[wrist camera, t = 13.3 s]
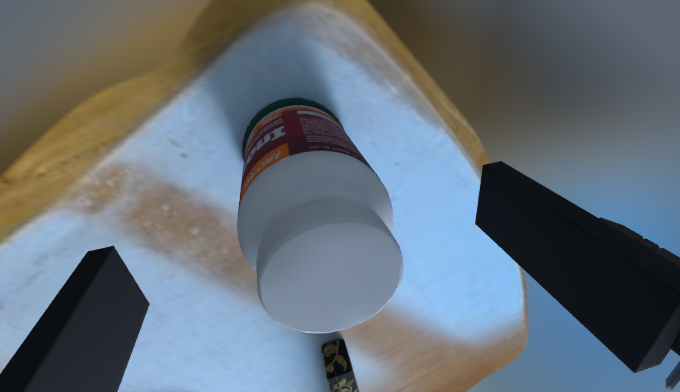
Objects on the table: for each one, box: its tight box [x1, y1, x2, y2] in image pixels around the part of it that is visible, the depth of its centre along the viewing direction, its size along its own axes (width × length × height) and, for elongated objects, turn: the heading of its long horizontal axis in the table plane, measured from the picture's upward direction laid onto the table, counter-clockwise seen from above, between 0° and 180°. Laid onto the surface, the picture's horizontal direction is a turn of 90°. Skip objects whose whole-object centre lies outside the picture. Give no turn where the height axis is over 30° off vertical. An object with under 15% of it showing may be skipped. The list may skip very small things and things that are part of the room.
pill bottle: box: [237, 105, 403, 333], centre depth 15 cm, size 6×6×11 cm
